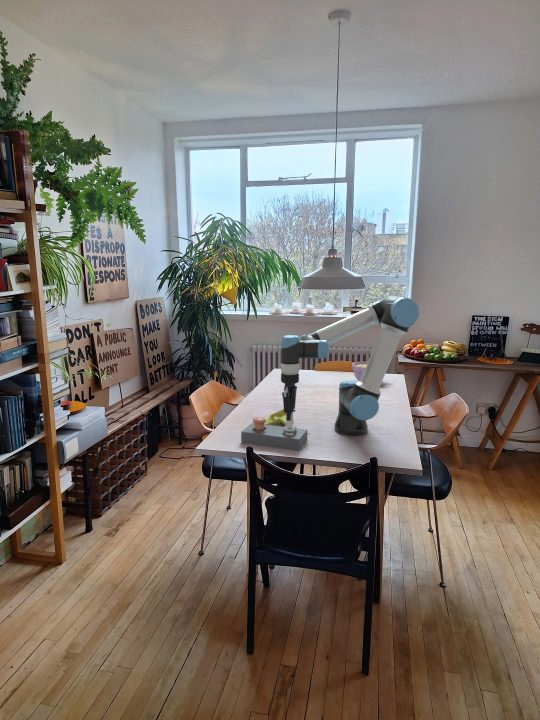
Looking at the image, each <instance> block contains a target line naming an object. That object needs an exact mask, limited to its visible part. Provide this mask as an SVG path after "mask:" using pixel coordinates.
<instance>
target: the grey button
mask: <svg viewBox="0 0 540 720" xmlns="http://www.w3.org/2000/svg"><path fill="white" fill-rule="evenodd" d="M282 427H283V431H284V432H285V434H286V435H295V432H296V428H297V426H296V425H293V427H292V428H288V427H286V426H285V425H283V426H282Z"/></svg>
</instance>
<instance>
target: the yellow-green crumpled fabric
mask: <svg viewBox="0 0 540 720" xmlns="http://www.w3.org/2000/svg"><path fill="white" fill-rule="evenodd" d="M264 424H265V425H273V426H281V427H282V425H283V426H286V413H284V408H282V409H280V410H278V411H276V412H274V413H271V414H270V415H269V416H268V417H267V418H266V422H265V423H264ZM281 424H282V425H281Z"/></svg>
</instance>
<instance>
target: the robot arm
mask: <svg viewBox="0 0 540 720" xmlns="http://www.w3.org/2000/svg"><path fill="white" fill-rule="evenodd" d="M419 316H420V308H419V306H418V304H417V302H416V301H415V300H413V299H411V298H409V297H408V296H407V297H406V296H401V295H387V296H385V297H384V298H381V299H379V300H377V301H375V302H373V303H371V304H368V305H367V308H365V309H363V310H361V311H358V312H356V313H353V314H351V315H349V316H347V317H345V318H343V319H340V320H338V321H337V322H334V323H331V324H330V325H327V326H325V327H323V328H321V329H318V330H316V331H314V332H312V333H309V334H306V333H305V334H303V335H302V336H298V335H296V334H295V335H293V334H288V335H283V336H282V337H281V342H280V343H281V344H280V364H279V366H280V372H281V373H280V382H281V383H283V384H284V386H283V392H281V396H282V401H283V402H282V403H283V409H284V413H286V427H288V428H292V427H293V426H294V412H296V400H297V399H296V398H297V389H298V385H296V384H298V383H299V382H300V374H299V372H300V359H327V358H328V356H329V353H330V352H329V350H330V346H329V345H331V344H332V343H335V342H338V341H340V340H342V339H344V338H346V337H348V336H351V335H353V334H354V333H357V332H361V330H364V329H366V328H369V327H371V326H373V325H375V326H379V325H380V326H381V329H380V332H379V335H378V337H377V339H376V342H375V344H374V346H373V348H372V350H371V354H370V356H369V358H368V361H367V362H368V363H367V365H366V368H365V370H364V372H363V375H362V377H361V379H360V381H359V380H344V381H340V382H339V385H338V386H339V387H338V391H339V392H338V414H337V416H336V420H335V422H334V427H333V428H334V431H335V432H336V433H338V434H342V435H346V436H361V435H364V434H366V433H368V430H369V429H368V427H369V426H368V425H369V424H368V423H367V421H368V420H371V419H373V418H374V417H375V416H377V414H378V412H379V409H380V405H379V404H380V403H379V399H380V396H381V394H382V392H381V390H380V387H381V385H382V382H383V380H384V377H385V375H386V373H387V372H388V369H389V366H390V363H391V361H392V360H393V357H394V354H395V352H396V350H397V347H398V345H399V343H400V341H401V338H402V336H404V335H406V334H407V333H409V332H408V331H409V330H410V327H411V326H413V325H414V324H416V323H417V321H418V319H419Z"/></svg>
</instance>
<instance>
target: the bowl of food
mask: <svg viewBox="0 0 540 720" xmlns="http://www.w3.org/2000/svg"><path fill="white" fill-rule="evenodd" d="M367 363H368V361H355V362H353V363H352V364H351V365H352V370H353V374H354V377H355V379H356V381H360V379H361V377H362V375H363V372H364V370H365V368H366V365H367Z"/></svg>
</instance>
